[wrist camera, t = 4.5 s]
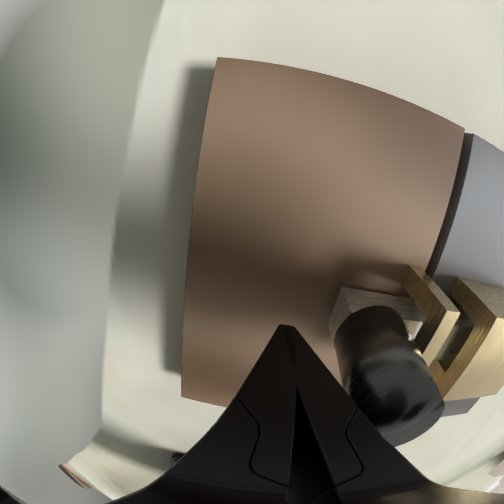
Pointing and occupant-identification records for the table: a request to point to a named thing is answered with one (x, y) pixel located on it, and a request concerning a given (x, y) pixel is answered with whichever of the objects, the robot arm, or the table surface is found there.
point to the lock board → (323, 214)
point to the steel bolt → (390, 361)
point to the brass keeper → (478, 343)
